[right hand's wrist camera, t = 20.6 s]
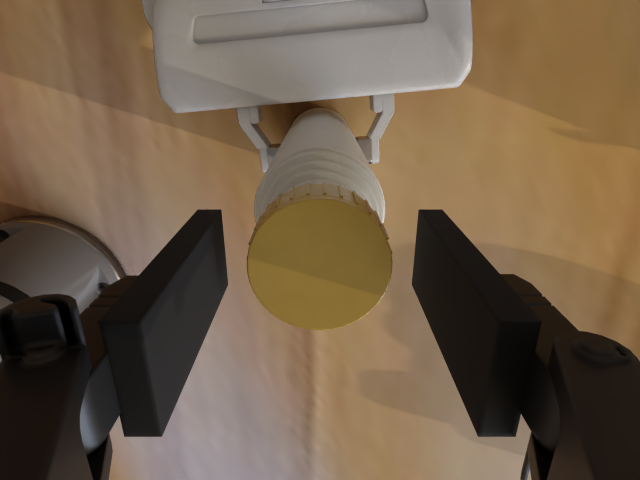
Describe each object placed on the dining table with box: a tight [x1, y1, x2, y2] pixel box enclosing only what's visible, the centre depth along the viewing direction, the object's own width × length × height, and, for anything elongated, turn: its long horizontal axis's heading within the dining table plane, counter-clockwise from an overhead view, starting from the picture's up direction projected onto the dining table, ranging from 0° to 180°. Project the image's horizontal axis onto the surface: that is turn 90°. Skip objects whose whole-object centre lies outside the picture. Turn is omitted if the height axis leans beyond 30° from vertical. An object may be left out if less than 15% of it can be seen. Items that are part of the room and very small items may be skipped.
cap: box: [247, 182, 392, 330], centre depth 13 cm, size 4×4×2 cm
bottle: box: [254, 108, 385, 224], centre depth 25 cm, size 6×6×25 cm
